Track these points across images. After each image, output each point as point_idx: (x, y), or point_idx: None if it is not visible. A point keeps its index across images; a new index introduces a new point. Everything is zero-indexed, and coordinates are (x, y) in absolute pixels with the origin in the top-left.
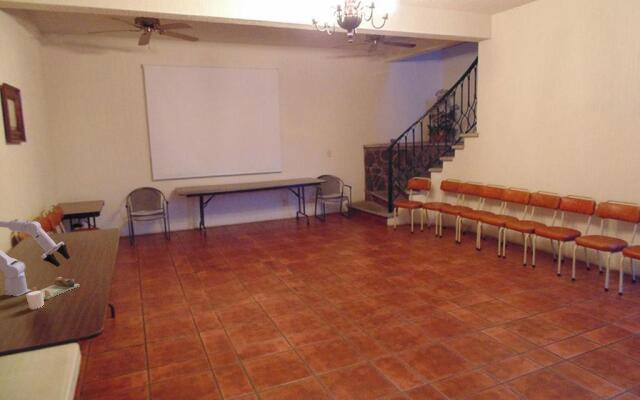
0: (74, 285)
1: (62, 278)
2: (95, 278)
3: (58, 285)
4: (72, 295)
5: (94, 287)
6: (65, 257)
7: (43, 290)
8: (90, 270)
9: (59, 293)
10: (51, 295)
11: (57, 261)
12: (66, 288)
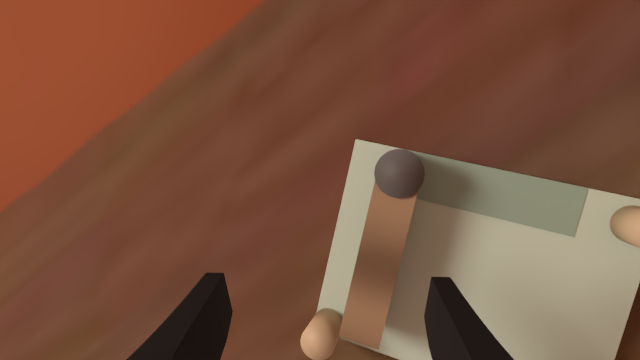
0: None
1: (355, 286)
2: (211, 137)
3: None
4: (551, 57)
5: (379, 5)
6: (221, 341)
7: None
8: (83, 280)
9: (542, 179)
10: (614, 203)
11: (469, 325)
12: (450, 182)
